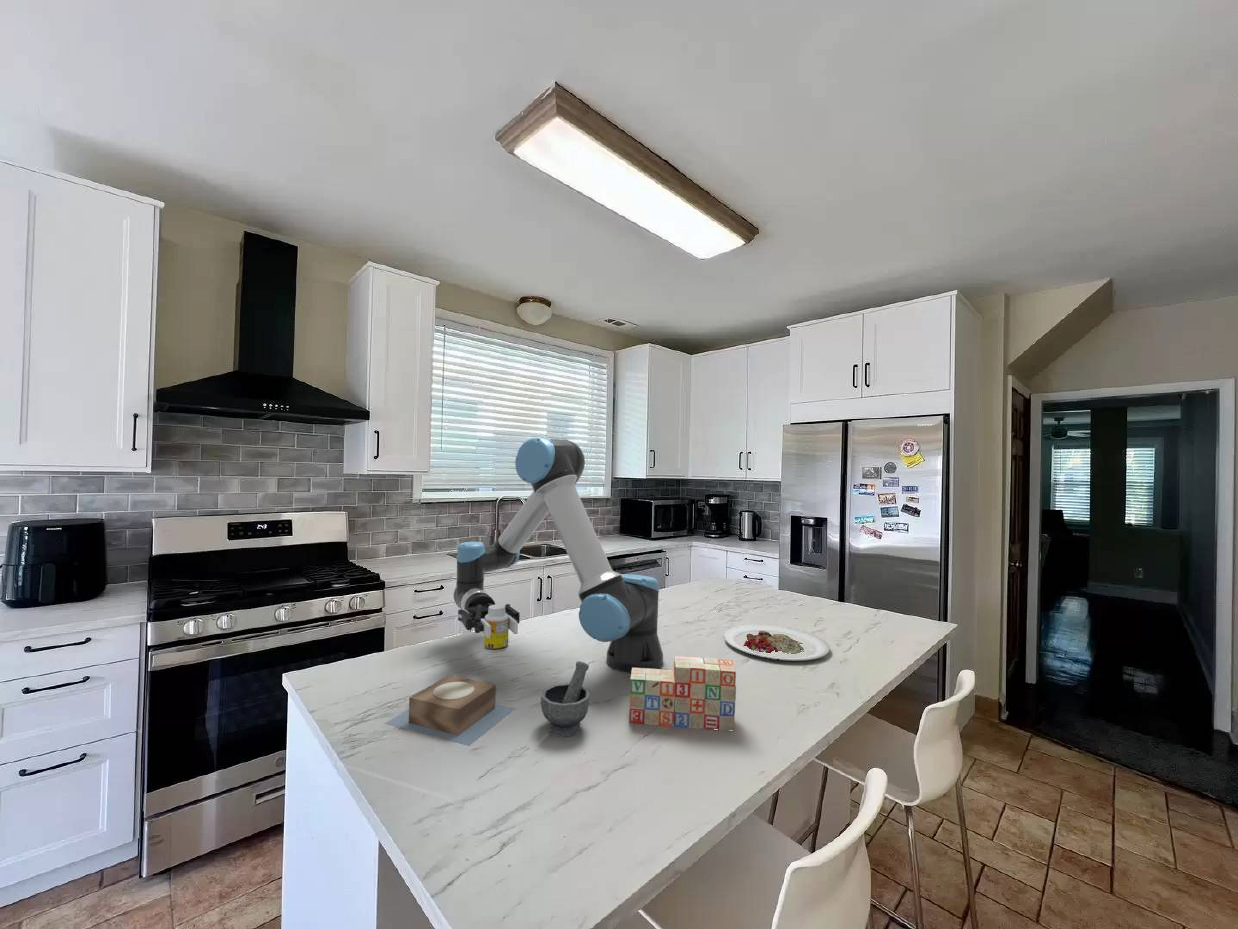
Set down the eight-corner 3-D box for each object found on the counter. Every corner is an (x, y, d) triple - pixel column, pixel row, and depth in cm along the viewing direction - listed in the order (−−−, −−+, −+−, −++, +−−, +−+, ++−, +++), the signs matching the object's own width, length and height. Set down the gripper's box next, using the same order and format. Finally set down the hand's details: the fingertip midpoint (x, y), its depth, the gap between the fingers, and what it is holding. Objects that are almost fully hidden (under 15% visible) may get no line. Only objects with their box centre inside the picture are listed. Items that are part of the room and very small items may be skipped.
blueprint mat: (516, 710, 110) (516, 708, 110) (469, 747, 95) (469, 745, 95) (440, 692, 117) (440, 690, 117) (385, 725, 102) (385, 723, 102)
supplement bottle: (480, 647, 124) (481, 605, 124) (503, 643, 127) (503, 602, 127) (488, 655, 119) (489, 611, 120) (511, 650, 123) (512, 607, 123)
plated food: (838, 643, 159) (838, 632, 159) (817, 675, 133) (817, 662, 133) (743, 624, 175) (743, 614, 175) (708, 650, 149) (709, 638, 149)
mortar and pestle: (566, 747, 96) (567, 682, 96) (530, 731, 101) (531, 669, 101) (602, 723, 105) (604, 664, 105) (568, 709, 110) (569, 653, 110)
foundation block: (495, 708, 109) (495, 683, 109) (458, 735, 98) (459, 708, 98) (449, 697, 113) (449, 674, 113) (408, 722, 102) (409, 696, 102)
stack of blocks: (628, 724, 105) (629, 664, 105) (630, 709, 111) (632, 652, 111) (735, 732, 103) (736, 670, 103) (731, 717, 109) (732, 659, 109)
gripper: (511, 615, 144) (540, 640, 123) (442, 624, 135) (461, 653, 114) (512, 588, 144) (541, 609, 123) (442, 595, 135) (461, 619, 114)
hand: (502, 630), depth 119 cm, fingers closed on supplement bottle, 6 cm apart
